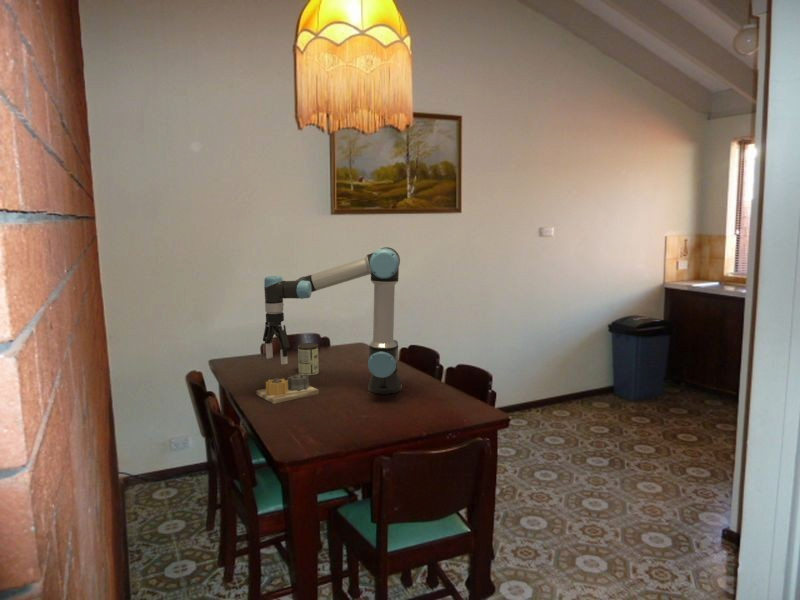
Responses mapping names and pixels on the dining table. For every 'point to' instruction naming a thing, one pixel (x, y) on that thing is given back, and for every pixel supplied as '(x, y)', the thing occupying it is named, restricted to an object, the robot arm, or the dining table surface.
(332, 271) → the robot arm
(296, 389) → the gear board
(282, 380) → the gear
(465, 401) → the dining table surface
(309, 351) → the coffee can
